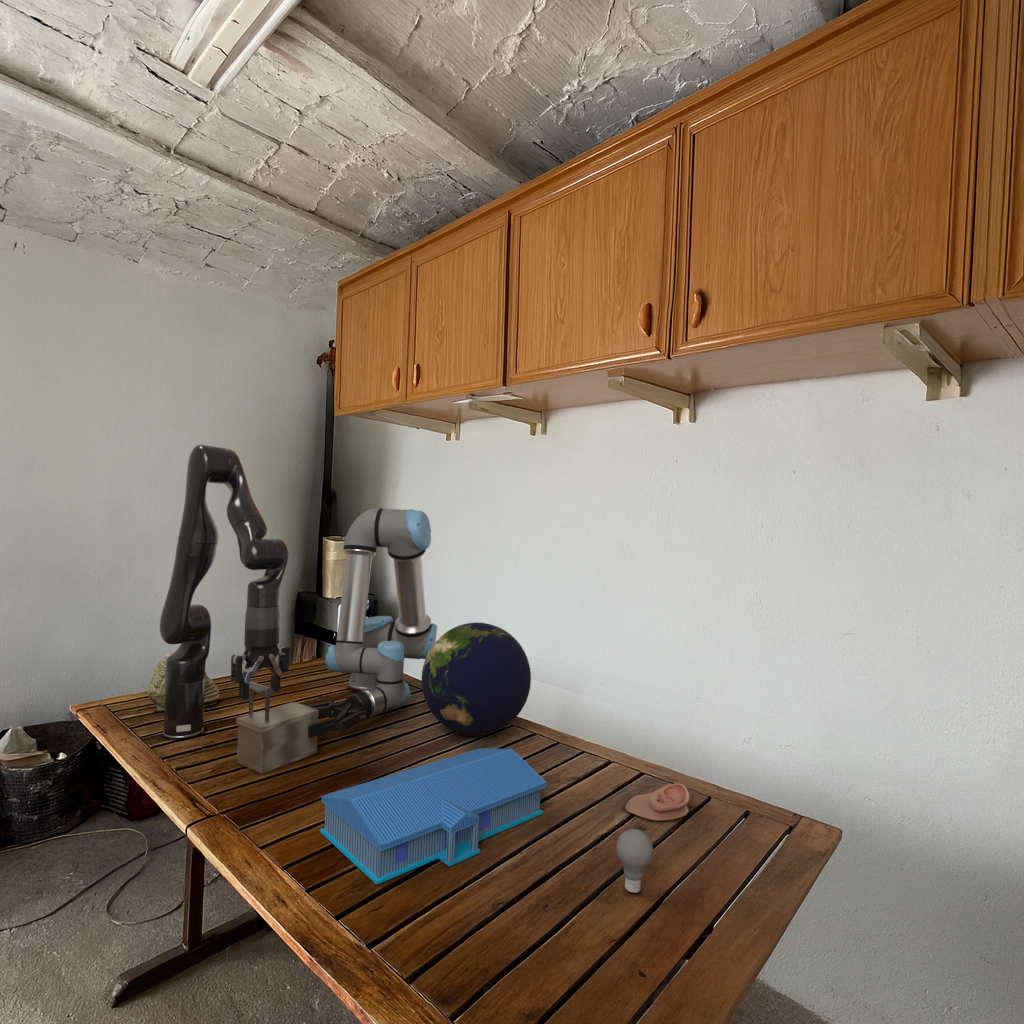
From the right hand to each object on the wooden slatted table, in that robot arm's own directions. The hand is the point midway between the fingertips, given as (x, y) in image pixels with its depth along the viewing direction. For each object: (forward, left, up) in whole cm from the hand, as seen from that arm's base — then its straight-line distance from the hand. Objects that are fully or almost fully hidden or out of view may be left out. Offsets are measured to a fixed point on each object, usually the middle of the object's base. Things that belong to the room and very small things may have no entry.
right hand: (295, 726), depth 156 cm
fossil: (-22, -46, -6) cm, 52 cm away
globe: (-25, +40, -6) cm, 47 cm away
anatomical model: (+8, +87, -6) cm, 88 cm away
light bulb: (+38, +81, -6) cm, 90 cm away
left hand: (+9, -4, +10) cm, 15 cm away
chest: (+4, -2, -6) cm, 8 cm away
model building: (+25, +44, -6) cm, 52 cm away
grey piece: (+4, -2, +3) cm, 6 cm away
